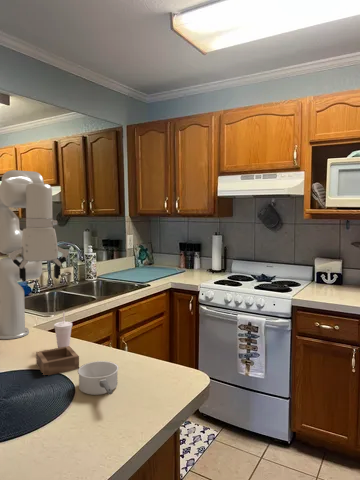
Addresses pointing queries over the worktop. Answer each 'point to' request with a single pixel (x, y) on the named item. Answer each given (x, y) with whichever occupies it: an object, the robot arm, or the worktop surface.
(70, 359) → the wooden frame
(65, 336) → the smoothie
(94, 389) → the saucepan
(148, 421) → the worktop surface
